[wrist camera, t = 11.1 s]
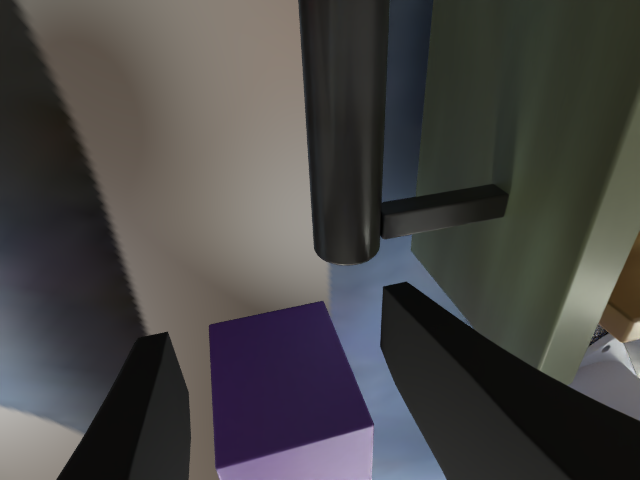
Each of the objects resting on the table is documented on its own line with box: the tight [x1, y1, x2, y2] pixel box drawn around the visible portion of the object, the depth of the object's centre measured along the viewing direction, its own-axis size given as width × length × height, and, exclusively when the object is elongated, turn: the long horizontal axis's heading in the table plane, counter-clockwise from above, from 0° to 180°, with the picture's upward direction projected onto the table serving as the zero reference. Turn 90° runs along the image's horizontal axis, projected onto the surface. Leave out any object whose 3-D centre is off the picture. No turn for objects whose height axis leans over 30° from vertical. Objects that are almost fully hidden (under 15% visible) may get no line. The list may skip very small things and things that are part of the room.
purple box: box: [209, 301, 374, 480], centre depth 15 cm, size 4×6×6 cm
